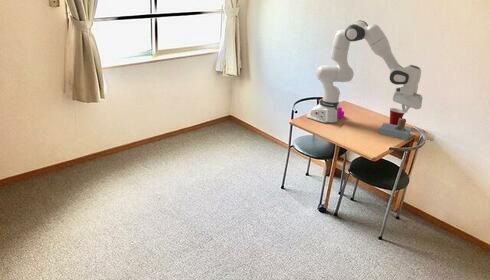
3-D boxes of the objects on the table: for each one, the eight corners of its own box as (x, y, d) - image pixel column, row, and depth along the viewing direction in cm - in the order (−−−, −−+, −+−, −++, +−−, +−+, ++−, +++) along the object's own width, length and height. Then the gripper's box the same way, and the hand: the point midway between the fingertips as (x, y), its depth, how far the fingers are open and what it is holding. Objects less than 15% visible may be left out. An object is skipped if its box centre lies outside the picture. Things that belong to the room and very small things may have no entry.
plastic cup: (405, 127, 274) (409, 111, 270) (393, 129, 270) (397, 112, 265) (394, 122, 283) (398, 107, 279) (382, 123, 279) (386, 107, 275)
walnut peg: (396, 133, 257) (399, 119, 254) (395, 131, 261) (398, 117, 257) (402, 134, 256) (406, 120, 253) (402, 132, 260) (405, 118, 257)
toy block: (343, 117, 287) (345, 107, 284) (336, 117, 285) (337, 108, 282) (332, 111, 300) (334, 101, 297) (325, 111, 298) (327, 102, 295)
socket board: (378, 133, 258) (379, 127, 257) (382, 128, 270) (383, 122, 269) (407, 140, 251) (408, 134, 249) (409, 134, 262) (411, 128, 261)
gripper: (426, 95, 241) (421, 116, 246) (400, 87, 258) (395, 107, 263) (419, 95, 238) (414, 117, 243) (393, 87, 255) (389, 107, 260)
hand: (404, 111), depth 253 cm, fingers closed
